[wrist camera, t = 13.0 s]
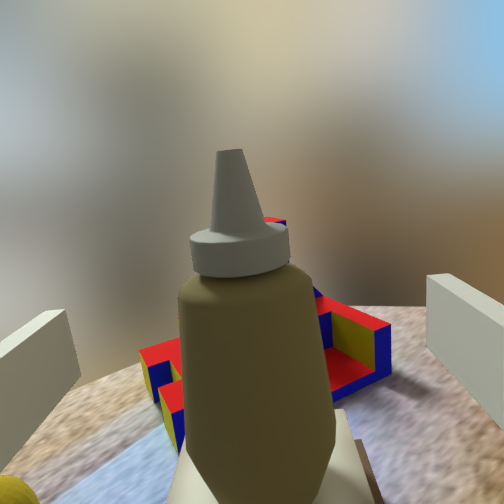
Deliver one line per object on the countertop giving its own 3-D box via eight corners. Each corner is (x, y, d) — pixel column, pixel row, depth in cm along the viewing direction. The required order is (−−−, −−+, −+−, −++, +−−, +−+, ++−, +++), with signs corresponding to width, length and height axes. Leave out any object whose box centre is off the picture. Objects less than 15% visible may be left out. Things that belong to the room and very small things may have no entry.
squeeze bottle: (370, 476, 20) (359, 136, 16) (264, 599, 15) (205, 144, 11) (268, 412, 26) (240, 153, 22) (167, 484, 21) (105, 164, 17)
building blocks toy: (141, 377, 48) (114, 241, 43) (297, 322, 59) (288, 210, 54) (187, 477, 31) (151, 277, 27) (391, 375, 42) (389, 221, 38)
